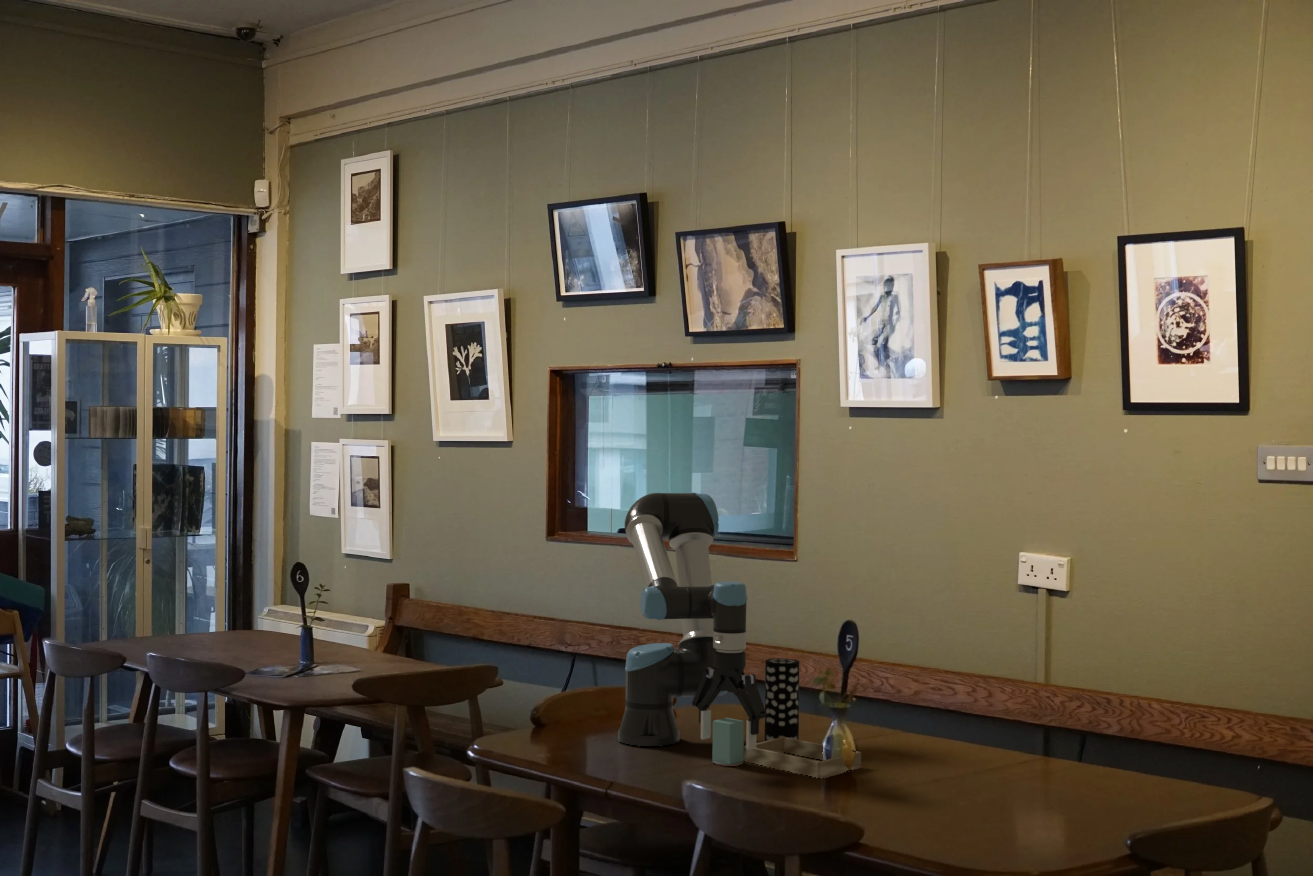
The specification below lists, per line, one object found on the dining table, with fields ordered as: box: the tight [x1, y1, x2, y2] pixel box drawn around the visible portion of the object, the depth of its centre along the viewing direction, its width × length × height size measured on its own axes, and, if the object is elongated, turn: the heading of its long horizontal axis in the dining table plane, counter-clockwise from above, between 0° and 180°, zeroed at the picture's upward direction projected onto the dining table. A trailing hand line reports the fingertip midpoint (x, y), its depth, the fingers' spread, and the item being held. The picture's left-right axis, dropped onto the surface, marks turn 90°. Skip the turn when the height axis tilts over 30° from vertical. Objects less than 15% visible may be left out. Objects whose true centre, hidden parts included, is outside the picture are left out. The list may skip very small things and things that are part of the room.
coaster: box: [712, 761, 745, 765], centre depth 284 cm, size 7×7×1 cm
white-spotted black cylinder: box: [764, 657, 800, 741], centre depth 306 cm, size 8×8×20 cm
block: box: [711, 717, 745, 764], centre depth 284 cm, size 5×5×9 cm
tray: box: [743, 737, 862, 780], centre depth 283 cm, size 22×15×4 cm
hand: (728, 743), depth 284 cm, fingers open, 13 cm apart
